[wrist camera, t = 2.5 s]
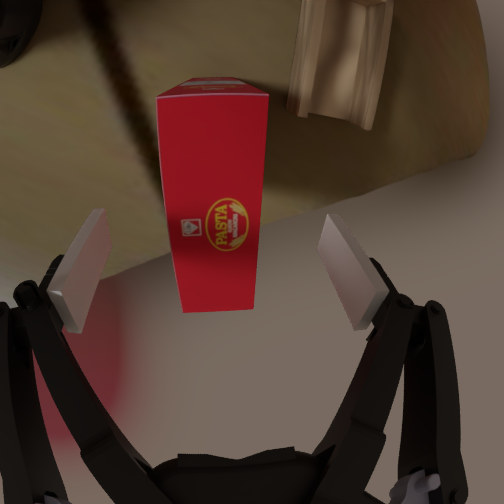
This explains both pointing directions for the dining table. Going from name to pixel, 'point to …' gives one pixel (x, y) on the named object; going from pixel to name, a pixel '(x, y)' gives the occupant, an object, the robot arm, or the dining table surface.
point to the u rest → (340, 59)
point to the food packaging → (213, 188)
